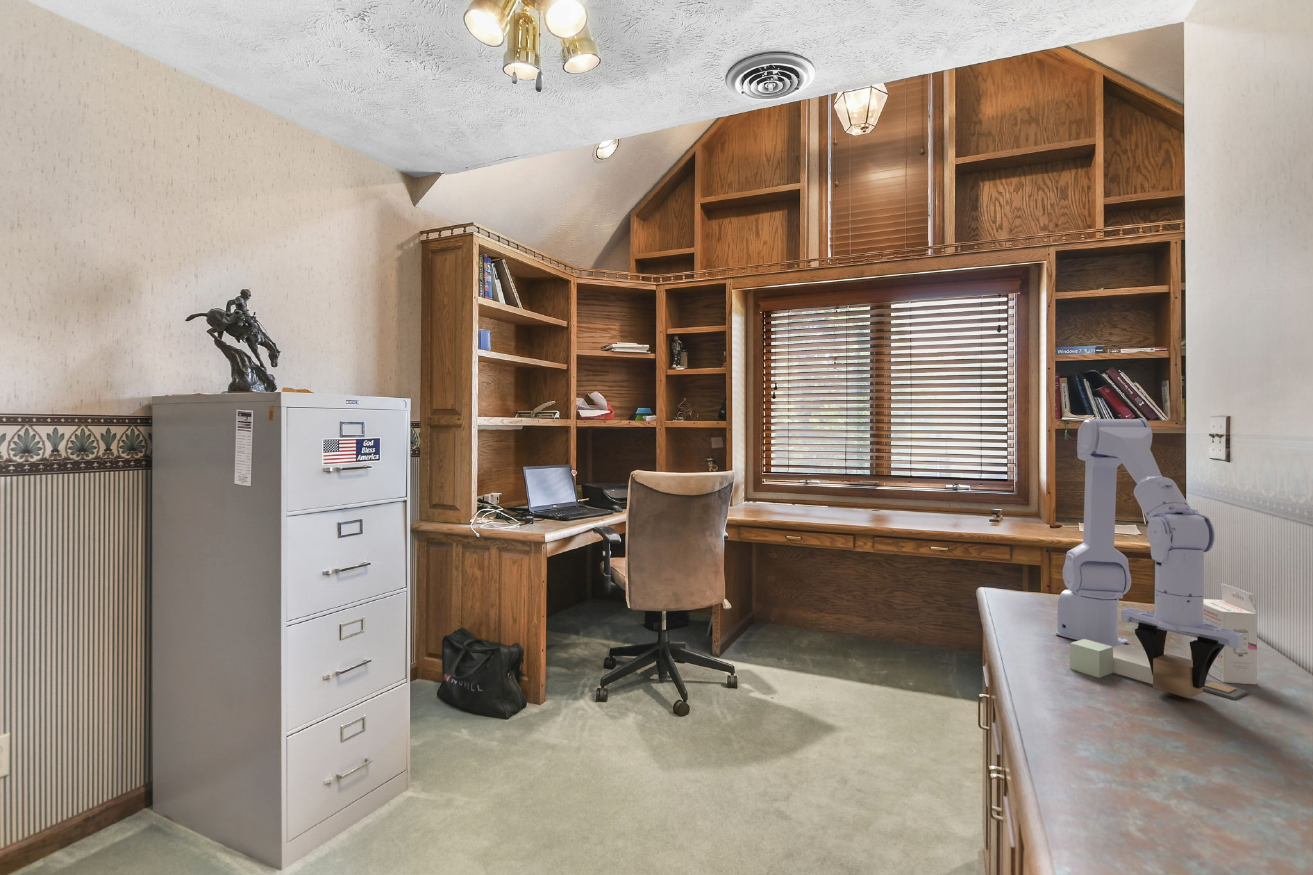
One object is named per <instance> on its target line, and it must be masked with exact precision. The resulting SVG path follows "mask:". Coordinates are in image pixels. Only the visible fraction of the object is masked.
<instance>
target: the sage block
mask: <svg viewBox="0 0 1313 875" xmlns="http://www.w3.org/2000/svg"><path fill="white" fill-rule="evenodd" d="M1070 669H1071V670H1074V671H1076V670H1077V672H1079V673H1083V674H1086V675H1089V676H1092V677H1095V678H1100V679H1101V678H1102V677H1106V676H1108V675H1111V674H1113V647H1112V646H1109V645H1105V644H1101V643H1097V642H1094V641H1090V640H1086V639H1082V640H1079V641H1078V640H1075V641H1072V642H1070V643H1069V670H1070Z"/></svg>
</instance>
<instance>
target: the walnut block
mask: <svg viewBox="0 0 1313 875" xmlns="http://www.w3.org/2000/svg"><path fill="white" fill-rule="evenodd" d="M1192 674H1193V661H1192V660H1191V659H1188V658H1184V657H1181V656H1177V655H1173V654H1170V653H1164V655H1162V656H1159V657H1156V658H1154V659H1153V684H1152V688H1154V689H1157V690H1160V691H1163V692H1166V693H1169V694H1172V695H1173V694H1174V695H1175V696H1179V697H1183V698H1185V699H1188V700H1190V699H1192V698H1194V697H1196V696H1198V695H1200V694H1202V693H1203V692H1204V691H1203V687H1202V688H1199V689H1198V688H1194V687H1193V682H1192Z"/></svg>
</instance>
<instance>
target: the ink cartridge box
mask: <svg viewBox="0 0 1313 875" xmlns="http://www.w3.org/2000/svg"><path fill="white" fill-rule="evenodd" d="M1220 590H1221V591H1220V592H1221V599H1211V598H1208V599H1207V598H1204V605H1203V622H1204V623H1207V624H1210V625H1214V626H1217V627H1220V628H1224V629H1227V630H1231V631H1235V632H1239V633H1243V647H1241V648H1238V649H1236V648H1232V647H1229V646H1228V645H1225V646H1224V648H1223V649H1222V650H1221V651H1220V653H1219V654H1218V656H1217V657H1216V659H1215V660H1214V662H1213V664H1212V665H1211V667H1210V670H1209V672H1208V675H1210V676H1212V677H1214V678H1215V679H1217V680H1219V681H1221V683H1224V684H1225V683H1230V684H1242V685H1244V684H1245V685H1257V684H1258V677H1257V676H1258V614H1257V602H1256V601H1257V600H1256V599H1257V598H1256V595H1255V594H1254V593H1253V592H1248V591H1246V590H1243V589H1242V588H1241V589H1240V588H1238V587H1235V586H1232V585H1229V584H1225V583H1224V582H1223V583H1220ZM1233 594H1234V595H1237V594H1238V595H1239V597H1242V598H1243V599H1239V598H1237V597H1235V596H1233ZM1190 638H1191V640H1190V642H1191V641H1194V640H1197V638H1195V637H1191V636H1190ZM1190 660H1192V653H1191V652H1190Z"/></svg>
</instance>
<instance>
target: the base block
mask: <svg viewBox="0 0 1313 875" xmlns="http://www.w3.org/2000/svg"><path fill="white" fill-rule="evenodd" d="M1113 673H1114V674H1117V675H1120V676H1124V677H1128V678H1130V679H1133V680H1137V681H1140V682H1144V683H1147V684H1150V685H1153V675H1152V671H1151V667H1150V664H1149V660H1148V657H1147V655H1146V652H1145V650H1144V648H1143V649H1142V648H1140V647H1139V648H1138V647H1136V646H1131V645H1128V644H1126V643H1124V644H1120V645H1117V646H1114V647H1113ZM1113 673H1112V674H1113Z"/></svg>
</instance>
